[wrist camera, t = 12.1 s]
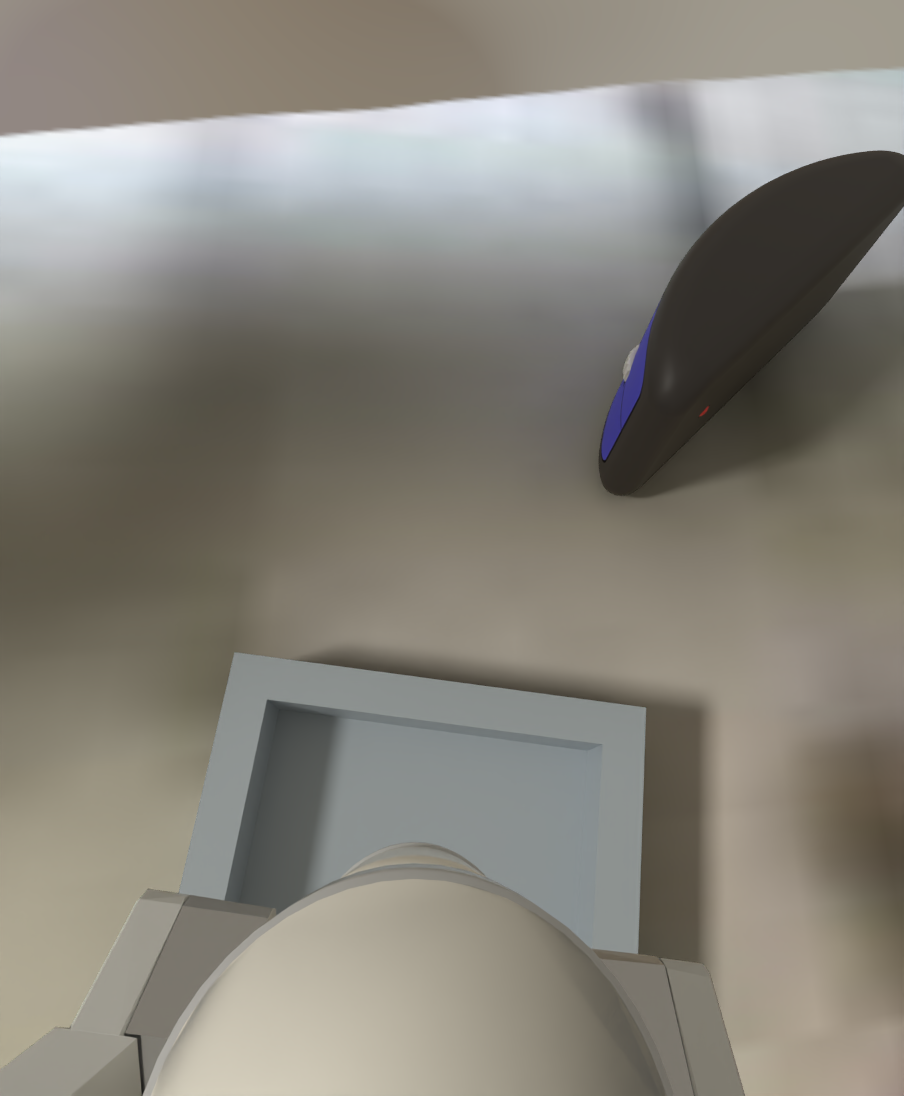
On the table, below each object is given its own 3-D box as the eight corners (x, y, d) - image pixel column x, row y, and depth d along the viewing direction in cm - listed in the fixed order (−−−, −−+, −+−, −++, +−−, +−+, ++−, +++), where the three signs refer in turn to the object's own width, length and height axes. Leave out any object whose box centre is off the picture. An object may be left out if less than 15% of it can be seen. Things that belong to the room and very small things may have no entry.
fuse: (300, 1041, 13) (39, 1539, 4) (335, 830, 15) (198, 839, 5) (497, 1068, 13) (686, 1624, 4) (516, 854, 15) (693, 905, 5)
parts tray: (164, 1077, 25) (126, 1116, 22) (254, 670, 30) (234, 652, 27) (602, 1136, 25) (630, 1183, 22) (620, 720, 30) (645, 707, 27)
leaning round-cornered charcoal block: (751, 259, 39) (851, 93, 30) (822, 313, 38) (947, 157, 29) (542, 449, 34) (587, 319, 26) (617, 515, 33) (690, 404, 25)
